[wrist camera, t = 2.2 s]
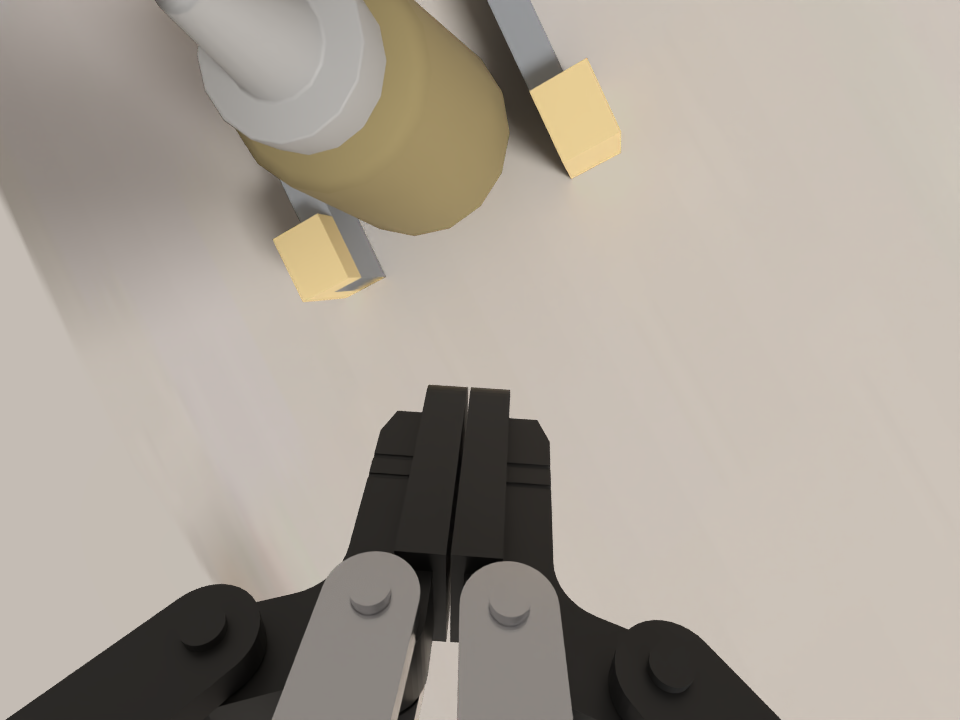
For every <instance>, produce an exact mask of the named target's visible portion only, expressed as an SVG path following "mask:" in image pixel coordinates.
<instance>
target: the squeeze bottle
mask: <svg viewBox="0 0 960 720" xmlns="http://www.w3.org/2000/svg"><path fill="white" fill-rule="evenodd" d="M155 1H156V2H157V4H158V6H159V7H160V8H161V9H162V10H163V11H164V12H165V13H166V14H167V15H168V16H169V17H170V18H171V19H172V20H173V21H174V22H175V23H176V24H177V25H178V26H179V27H180V28H181V29H182V30H183V31H184V32H185V33H186V34H187V35H188V36H189V37H190V38H191V39H192V40H193V41H194V42H195V43H196V44H197V45H198V53H197V57H198V61H199V66H200V70H201V75H202V79H203V84H204V88H205V92H206V93H207V95H208V96H209V98H210V99H211V101H212V103H213V104H214V106H215V107H216V109H217V110H218V112H219V114H220V115H221V117H222V118H223V120H224V121H225V122H227V123H228V124H230V125H231V126H232V127H234V128H235V129H236V131H237V132H238V134H239V135H240V137H241V138H242V140H243V142H244V143H245V145H246V146H247V148H248V149H249V151H250V152H251V154H252V156H253V157H254V159H255V160H256V162H257V163H258V164H259V165H260V166H262V167H263V168H265V169H266V170H267V171H269V172H270V173H272V174H273V175H275V176H276V177H277V178H279V179H280V180H282V181H283V182H284V183H286V184H287V185H289V186H290V187H292V188H294V189H296V190H299V191H301V192H303V193H305V194H307V195H309V196H311V197H313V198H316V199H318V200H320V201H322V202H324V203H326V204H328V205H330V206H332V207H335V208H337V209H339V210H341V211H343V212H345V213H347V214H349V215H351V216H354V217H356V218H358V219H360V220H362V221H364V222H366V223H368V224H371V225H373V226H375V227H377V228H379V229H383V230H387V231H392V232H397V233H402V234H407V235H412V236H417V235H421V234H426V233H430V232H435V231H439V230H444V229H448V228H451V227H452V226H454V225H455V224H456V223H458V222H459V221H460V220H462V219H463V218H465V217H466V216H467V215H469V214H470V213H472V212H473V211H474V210H476V209H477V208H479V207H480V206H481V205H482V203H483V201H484V200H485V198H486V197H487V195H488V193H489V192H490V190H491V189H492V187H493V186H494V184H495V182H496V181H497V179H498V178H499V176H500V175H501V173H502V169H503V164H504V159H505V154H506V148H507V143H508V138H509V133H510V132H509V126H508V121H507V115H506V110H505V104H504V98H503V93H502V91H501V89H500V88H499V86H498V85H497V83H496V82H495V80H494V78H493V77H492V75H491V74H490V72H489V71H488V69H487V68H486V66H485V64H484V63H483V61H482V60H481V59H480V58H479V57H478V56H477V55H476V54H475V53H474V52H472V51H471V50H470V49H469V48H468V47H467V46H466V45H464V44H463V43H462V42H461V41H460V40H459V39H458V38H456V37H455V36H454V35H453V34H452V33H451V32H450V31H448V30H447V29H446V28H445V27H444V26H443V25H442V24H440V23H439V22H438V21H437V20H436V19H435V18H434V17H432V16H431V15H430V14H429V13H428V12H427V11H426V10H424V9H423V8H422V7H421V6H420V5H419V4H418V3H416V2H415V1H414V0H155Z"/></svg>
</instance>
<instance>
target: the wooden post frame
mask: <svg viewBox="0 0 960 720" xmlns="http://www.w3.org/2000/svg"><path fill="white" fill-rule="evenodd" d="M487 1H488V3H489V5H490V7H491V10H492V12H493V14H494V16H495V18H496V20H497V22H498V24H499V27H500V29H501V31H502V33H503V35H504V37H505V39H506V42H507V44H508V46H509V48H510V50H511V52H512V54H513V57H514V59H515V61H516V63H517V65H518V67H519V69H520V72H521V74H522V76H523V78H524V80H525V82H526V84H527V87H528V89H529V92H530V94H531V96H532V98H533V100H534V102H535V105H536V107H537V109H538V111H539V113H540V115H541V117H542V119H543V122H544V124H545V126H546V128H547V130H548V132H549V134H550V137H551V139H552V141H553V143H554V145H555V147H556V149H557V152H558V154H559V156H560V158H561V160H562V162H563V164H564V166H565V168H566V170H567V172H568V174H569V176H570V177H571V179H572V178H574V177H576V176H578V175H580V174H582V173H584V172H585V171H587V170H589V169H591V168H593V167H595V166H597V165H599V164H601V163H602V162H604V161H606V160H608V159H610V158H612V157H614V156H616V155H618V154H619V153H621V130H620V128H619V126H618V124H617V122H616V120H615V117H614V115H613V113H612V111H611V109H610V107H609V104H608V102H607V100H606V98H605V96H604V94H603V91H602V89H601V87H600V85H599V83H598V81H597V79H596V76H595V74H594V72H593V70H592V68H591V66H590V63H589V61H588V59H587V58H586V59H584V60H582V61H581V62H579V63H577V64H575V65H574V66H572V67H570V68H568V69H567V70H565V71H563V70H562V68H561V65H560V63H559V61H558V59H557V57H556V55H555V52H554V50H553V48H552V46H551V44H550V42H549V40H548V37H547V35H546V33H545V31H544V29H543V27H542V24H541V22H540V20H539V18H538V16H537V14H536V12H535V9H534V7H533V5H532V3H531V1H530V0H487ZM280 181H281V183H282V185H283V187H284V189H285V191H286V193H287V196H288V198H289V200H290V202H291V204H292V206H293V208H294V210H295V212H296V214H297V216H298V218H299V220H300V222H301V223H300V224H298V225H297V226H295V227H293V228H292V229H290V230H288V231H286V232H285V233H283V234H281V235H279V236H278V237H276V238H274V239H273V241H274V243H275V245H276V248H277V250H278V252H279V254H280V256H281V258H282V260H283V262H284V264H285V266H286V268H287V270H288V272H289V274H290V276H291V278H292V281H293V283H294V285H295V287H296V289H297V291H298V293H299V295H300V297H301V299H302V301H303V302H310V301H320V300H331V299H341V298H347V297H349V296H351V295H352V294H354V293H356V292H358V291H360V290H362V289H364V288H366V287H368V286H370V285H371V284H373V283H375V282H377V281H379V280H381V279H383V278H385V277H386V276H385V274H384V272H383V270H382V268H381V266H380V264H379V261H378V259H377V257H376V255H375V253H374V251H373V249H372V247H371V245H370V243H369V241H368V239H367V236H366V234H365V232H364V230H363V228H362V226H361V224H360V222H359V220H358V218H356V217H354V216H351V215H349V214H347V213H345V212H343V211H341V210H339V209H337V208H335V207H332V206H330V205H328V204H326V203H324V202H322V201H320V200H318V199H316V198H313V197H311V196H309V195H307V194H305V193H303V192H301V191H299V190H296V189H294V188H292V187H290V186H289V185H287V184H286V183H284V182H283V181H282V180H280Z"/></svg>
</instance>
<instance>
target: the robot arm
mask: <svg viewBox="0 0 960 720" xmlns="http://www.w3.org/2000/svg"><path fill="white" fill-rule="evenodd" d="M509 406H510V390H503V389H488V388H473V387H471V391H470V399H469V407H468V387H456V386H441V385H428V388H427V392H426V397H425V402H424V407H423V412H407V411H397V412H396V413H395V414H394V416H393V417H392V418H391V419H390V420H389V421H388V422H387V424H386V425H385V426H384V427H383V428H382V429H381V431H380V435H379V438H378V442H377V446H376V449H375V453H374V458H373V460H372V464H371V468H370V471H369V477H368V479H367V482H366V486H365V490H364V493H363V497H362V501H361V504H360V508H359V512H358V515H357V519H356V523H355V526H354V530H353V534H352V537H351V541H350V545H349V548H348V551H347V553H346V556H345V557H344V559H343V561H342V563H340V564H339V565H338V566H336V567H335V569H334V570H333V571H332V572H331V573H330V574H329V576H328V577H327V578H326V579H325V580H324V581H322V582H321V583H319V584H317V585H316V586H314V587H312V588H309V589H307V590H305V591H301V592H298V593H294V594H290V595H286V596H281V597H277V598H273V599H268V600H264V601H260V602H256V601H255V600H254V599H253V597H252V596H251V595H250V594H249V593H248V592H247V591H245V590H243V589H241V588H239V587H236V586H233V585H226V584H215V585H209V586H205V587H201V588H199V589H196V590H194V591H191V592H189V593H187V594H185V595H184V596H182V597H181V598H179V599H177V600H176V601H175V602H173V603H172V604H170V605H169V606H168V607H166V608H165V609H164V610H162V611H160V612H159V613H157V614H156V615H155V616H153V617H152V618H150V619H149V620H147V621H146V622H145V623H143V624H142V625H140V626H139V627H137V628H136V629H135V630H133V631H132V632H130V633H129V634H127V635H126V636H125V637H123V638H122V639H120V640H119V641H117V642H116V643H115V644H113V645H112V646H110V647H109V648H107V649H106V650H105V651H103V652H102V653H100V654H99V655H98V656H96V657H95V658H93V659H92V660H90V661H89V662H87V663H86V664H85V665H83V666H82V667H80V668H79V669H77V670H76V671H75V672H73V673H72V674H70V675H69V676H67V677H66V678H65V679H63V680H62V681H60V682H59V683H57V684H56V685H55V686H53V687H52V688H50V689H49V690H47V691H46V692H45V693H44V694H42V695H40V696H39V697H37V698H36V699H35V700H33V701H32V702H30V703H29V704H27V705H26V706H25V707H23V708H22V709H20V710H19V711H17V712H16V713H15V714H13V715H12V716H10V717H9V718H7V719H6V720H418V719H419V715H420V710H421V705H422V700H423V695H424V688H425V684H426V680H427V676H428V669H429V661H430V653H431V646H432V641H443V642H446V639H447V630H448V621H449V612H450V603H451V615H450V642H459V661H458V703H457V720H781V719H780V718H779V717H778V716H777V715H776V714H775V713H774V712H773V711H772V710H771V709H770V708H769V707H768V706H767V705H766V704H765V703H764V702H763V701H762V700H761V699H760V698H759V697H758V696H757V695H756V694H755V693H754V692H753V691H752V690H751V689H750V687H749V686H748V685H747V684H746V683H745V682H744V681H743V680H742V679H741V678H740V677H739V676H738V675H737V674H736V673H735V672H734V671H733V670H732V669H731V668H730V667H729V666H728V665H727V664H726V663H725V662H724V661H723V660H722V659H721V658H720V657H719V656H718V655H717V654H716V653H715V652H714V651H713V650H712V649H711V648H710V647H709V646H708V645H707V644H706V643H705V642H704V641H703V640H702V639H701V638H700V637H699V636H698V635H696V634H695V633H693V632H692V631H690V630H689V629H687V628H685V627H683V626H681V625H678V624H675V623H672V622H668V621H663V620H651V621H645V622H642V623H639V624H637V625H635V626H633V627H631V628H630V629H629V630H628V629H626V628H623V627H621V626H618V625H616V624H613V623H611V622H608V621H606V620H603V619H601V618H598V617H596V616H594V615H592V614H590V613H588V612H586V611H585V610H583V609H581V608H580V607H579V606H577V605H576V604H575V603H574V602H573V601H572V600H571V599H570V598H569V597H568V596H567V595H566V594H565V592H564V591H563V589H562V588H561V586H560V584H559V582H558V580H557V578H556V575H555V571H554V565H553V539H552V506H551V474H550V442H549V440H548V438H547V436H546V435H545V433H544V431H543V429H542V428H541V426H540V424H539V422H538V421H537V420H527V419H512V418H509Z"/></svg>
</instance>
